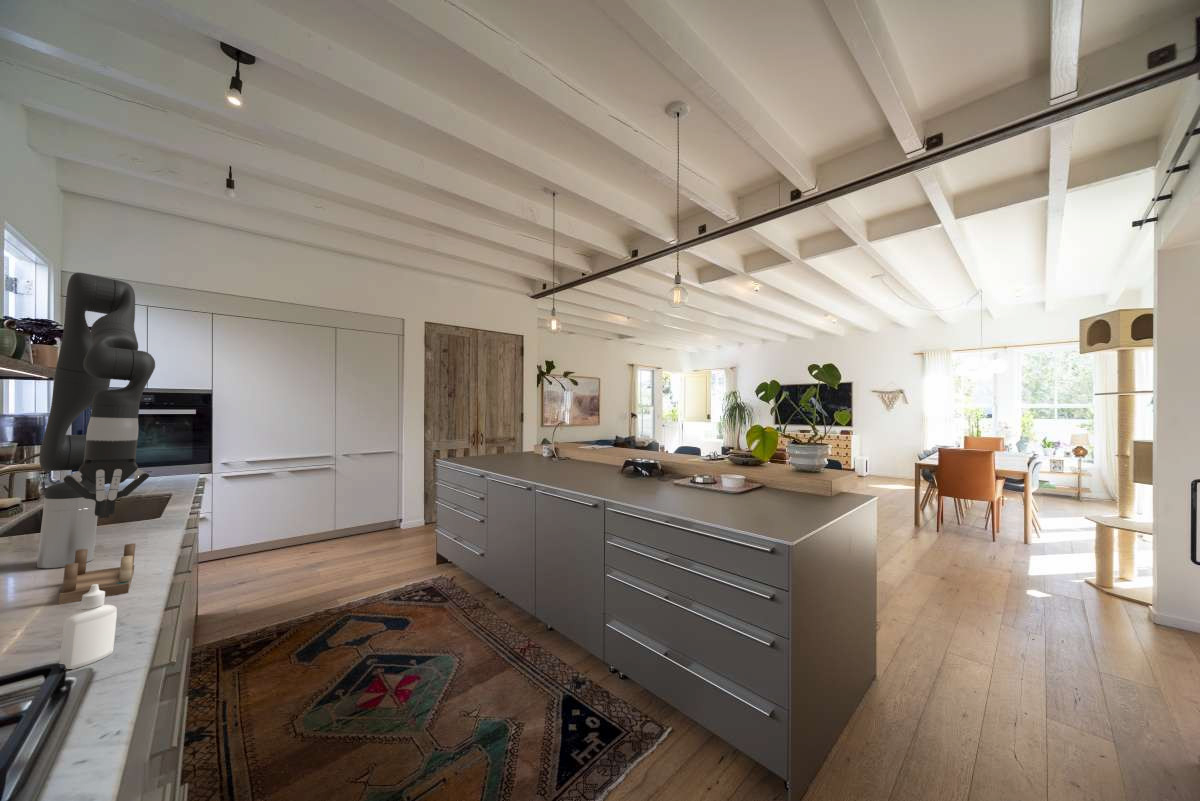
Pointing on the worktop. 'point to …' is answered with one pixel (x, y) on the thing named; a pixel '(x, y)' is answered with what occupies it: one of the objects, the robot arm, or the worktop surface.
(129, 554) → the wooden peg rack
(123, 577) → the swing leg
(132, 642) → the worktop surface
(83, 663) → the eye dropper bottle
